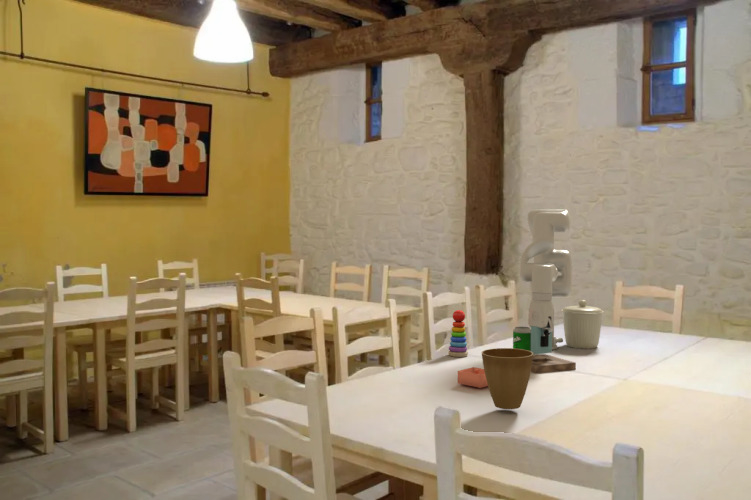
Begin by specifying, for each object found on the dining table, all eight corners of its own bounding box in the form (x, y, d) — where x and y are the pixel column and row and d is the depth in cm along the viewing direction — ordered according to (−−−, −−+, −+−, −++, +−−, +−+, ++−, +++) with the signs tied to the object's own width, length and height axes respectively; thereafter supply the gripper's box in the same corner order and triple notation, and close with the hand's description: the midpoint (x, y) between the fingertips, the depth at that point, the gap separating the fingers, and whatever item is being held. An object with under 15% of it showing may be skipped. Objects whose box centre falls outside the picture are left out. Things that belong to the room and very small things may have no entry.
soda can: (530, 355, 282) (530, 326, 282) (532, 358, 275) (533, 329, 275) (511, 355, 283) (512, 326, 283) (513, 358, 276) (514, 328, 275)
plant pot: (496, 397, 212) (497, 346, 211) (541, 405, 202) (542, 351, 202) (471, 407, 200) (472, 352, 200) (517, 416, 191) (518, 359, 190)
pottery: (480, 387, 225) (481, 358, 225) (457, 383, 232) (457, 354, 232) (510, 379, 239) (510, 351, 238) (487, 375, 245) (488, 347, 245)
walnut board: (545, 360, 271) (545, 350, 271) (575, 369, 255) (575, 358, 255) (507, 364, 264) (507, 353, 264) (535, 373, 248) (535, 362, 248)
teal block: (530, 352, 260) (530, 325, 259) (545, 351, 262) (546, 325, 262) (536, 353, 256) (536, 327, 256) (551, 352, 259) (551, 326, 259)
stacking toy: (468, 357, 277) (469, 311, 276) (449, 357, 277) (449, 311, 277) (466, 354, 285) (467, 309, 284) (447, 353, 285) (447, 309, 284)
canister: (551, 346, 305) (552, 298, 305) (583, 343, 313) (584, 297, 312) (580, 352, 289) (580, 303, 288) (612, 349, 297) (613, 301, 296)
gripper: (520, 295, 265) (519, 343, 265) (547, 299, 250) (546, 349, 250) (536, 295, 268) (535, 341, 268) (563, 299, 253) (563, 348, 253)
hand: (541, 345), depth 259 cm, fingers closed on teal block, 3 cm apart
